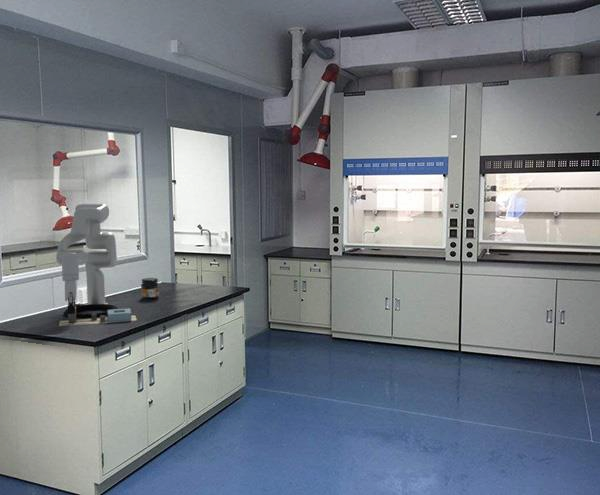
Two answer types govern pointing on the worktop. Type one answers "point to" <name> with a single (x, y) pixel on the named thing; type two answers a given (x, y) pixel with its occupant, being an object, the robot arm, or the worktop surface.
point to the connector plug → (72, 317)
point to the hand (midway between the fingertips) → (71, 311)
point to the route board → (91, 320)
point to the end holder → (119, 315)
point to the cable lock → (91, 307)
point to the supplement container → (149, 289)
